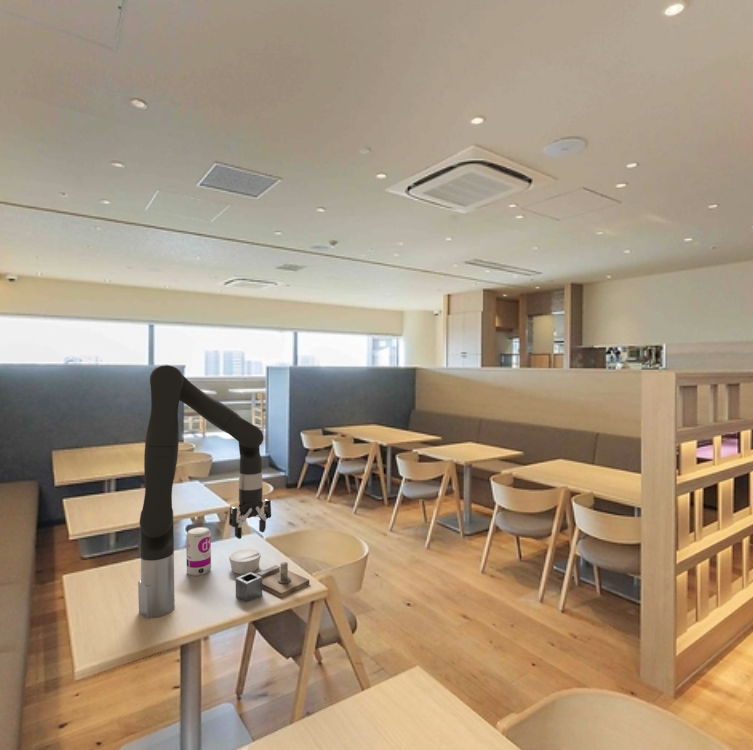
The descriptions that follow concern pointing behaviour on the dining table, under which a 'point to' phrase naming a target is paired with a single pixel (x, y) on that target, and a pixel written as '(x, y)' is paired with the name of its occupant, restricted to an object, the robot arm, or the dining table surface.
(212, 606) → the dining table surface
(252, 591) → the grey hollow cube
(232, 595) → the dining table surface
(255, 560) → the ramekin
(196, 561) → the supplement can
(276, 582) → the board
